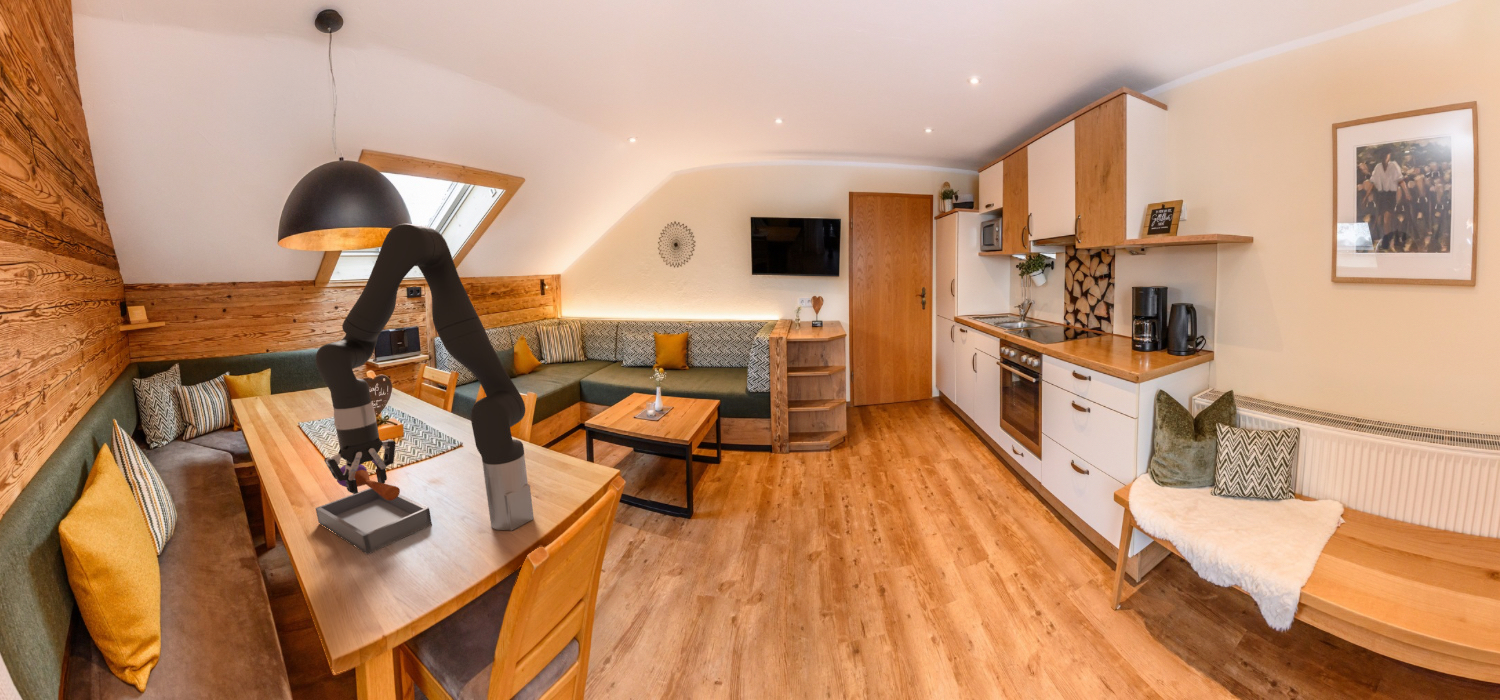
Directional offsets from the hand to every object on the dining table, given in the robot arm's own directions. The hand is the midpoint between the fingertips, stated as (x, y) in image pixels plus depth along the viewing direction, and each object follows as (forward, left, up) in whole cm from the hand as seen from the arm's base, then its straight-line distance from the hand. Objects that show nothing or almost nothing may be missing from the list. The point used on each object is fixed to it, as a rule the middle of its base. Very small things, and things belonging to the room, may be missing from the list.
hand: (368, 487), depth 116 cm
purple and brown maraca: (0, 0, -1) cm, 1 cm away
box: (0, 0, -10) cm, 10 cm away
